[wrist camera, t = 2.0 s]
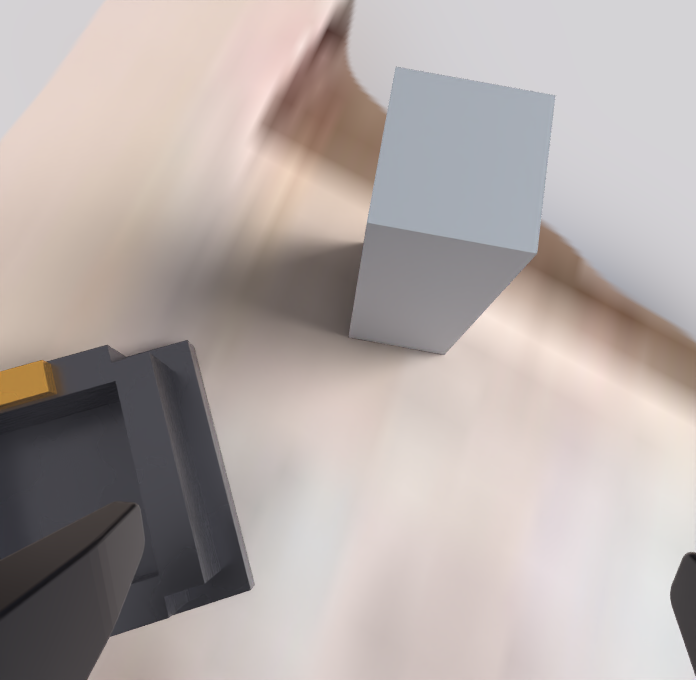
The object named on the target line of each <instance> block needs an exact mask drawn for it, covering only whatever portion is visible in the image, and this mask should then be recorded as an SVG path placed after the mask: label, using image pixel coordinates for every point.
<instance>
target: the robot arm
mask: <svg viewBox="0 0 696 680" xmlns="http://www.w3.org/2000/svg"><path fill="white" fill-rule="evenodd" d="M144 545H145V537H144V530H143V523H142V516H141V510H140V507H139V505H138V504H137V503H134V502H123V501H115V502H112V503H110V504H108V505H106V506H104V507H102V508H100V509H98V510H96V511H94V512H93V513H91V514H89V515H87V516H85V517H83V518H81V519H79V520H77V521H75V522H73V523H71V524H69V525H67V526H65V527H63V528H61V529H60V530H58V531H56V532H54V533H52V534H50V535H48V536H46V537H44V538H42V539H40V540H38V541H36V542H34V543H32V544H30V545H28V546H26V547H25V548H23V549H21V550H19V551H17V552H15V553H13V554H11V555H9V556H7V557H5V558H3V559H1V560H0V680H87V679H88V677H89V675H90V673H91V671H92V669H93V667H94V665H95V664H96V662H97V660H98V658H99V656H100V654H101V652H102V650H103V648H104V647H105V645H106V643H107V641H108V639H109V637H110V635H111V633H112V631H113V629H114V626H115V624H116V621H117V619H118V617H119V614H120V611H121V609H122V606H123V604H124V601H125V599H126V596H127V593H128V591H129V588H130V586H131V583H132V581H133V578H134V575H135V573H136V570H137V568H138V565H139V562H140V560H141V557H142V554H143V551H144ZM670 599H671V604H672V608H673V611H674V614H675V617H676V620H677V623H678V625H679V628H680V631H681V634H682V637H683V640H684V643H685V646H686V649H687V652H688V655H689V658H690V661H691V664H692V667H693V670H694V673H695V676H696V553H695V552H689V553H687V554H685V555H684V556H683V558H682V561H681V563H680V566H679V568H678V571H677V573H676V576H675V578H674V581H673V583H672V586H671V591H670Z"/></svg>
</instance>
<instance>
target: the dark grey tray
mask: <svg viewBox="0 0 696 680" xmlns="http://www.w3.org/2000/svg"><path fill="white" fill-rule="evenodd" d="M115 501H123V502H134V503H137V504H138V505H139V507H140V510H141V516H142V523H143V530H144V537H145V545H144V551H143V554H142V557H141V560H140V562H139V565H138V568H137V570H136V573H135V575H134V578H133V581H132V583H131V586H130V588H129V591H128V593H127V596H126V599H125V601H124V604H123V606H122V609H121V611H120V614H119V617H118V619H117V621H116V624H115V626H114V629H113V631H112V633H111V635H110V637H111V636H114V635H117V634H120V633H123V632H126V631H129V630H132V629H136V628H139V627H142V626H145V625H148V624H151V623H154V622H157V621H160V620H163V619H167V618H169V617H170V616H172V615H175V614H178V613H181V612H184V611H187V610H190V609H193V608H196V607H200V606H203V605H206V604H209V603H212V602H215V601H218V600H221V599H224V598H227V597H231V596H234V595H237V594H240V593H243V592H246V591H249V590H251V589H252V588H253V586H254V585H255V584H254V580H253V576H252V572H251V568H250V564H249V560H248V556H247V552H246V549H245V545H244V541H243V537H242V533H241V529H240V525H239V521H238V517H237V513H236V509H235V506H234V502H233V498H232V494H231V490H230V486H229V482H228V478H227V474H226V470H225V466H224V462H223V459H222V455H221V451H220V447H219V443H218V439H217V435H216V431H215V427H214V423H213V419H212V416H211V412H210V408H209V404H208V400H207V396H206V392H205V388H204V384H203V380H202V376H201V372H200V369H199V365H198V361H197V357H196V353H195V349H194V347H193V345H192V344H191V343H190V342H189V341H188V340H186V341H182V342H179V343H175V344H171V345H168V346H164V347H161V348H157V349H154V350H150V351H146V352H143V353H139V354H136V355H132V356H129V357H125V356H124V355H122V354H121V353H119V352H118V351H116V350H114V349H113V348H111V347H110V346H108V345H105V346H101V347H98V348H94V349H91V350H87V351H83V352H80V353H76V354H73V355H69V356H65V357H62V358H58V359H54V360H51V361H47V362H46V361H44V360H40V361H37V362H33V363H30V364H26V365H22V366H19V367H15V368H12V369H8V370H4V371H1V372H0V560H1V559H3V558H5V557H7V556H9V555H11V554H13V553H15V552H17V551H19V550H21V549H23V548H25V547H26V546H28V545H30V544H32V543H34V542H36V541H38V540H40V539H42V538H44V537H46V536H48V535H50V534H52V533H54V532H56V531H58V530H60V529H61V528H63V527H65V526H67V525H69V524H71V523H73V522H75V521H77V520H79V519H81V518H83V517H85V516H87V515H89V514H91V513H93V512H94V511H96V510H98V509H100V508H102V507H104V506H106V505H108V504H110V503H112V502H115Z"/></svg>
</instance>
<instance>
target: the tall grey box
mask: <svg viewBox="0 0 696 680" xmlns="http://www.w3.org/2000/svg"><path fill="white" fill-rule="evenodd" d="M554 102H555V95H550V94H545V93H539V92H534V91H528V90H522V89H517V88H511V87H506V86H500V85H495V84H489V83H484V82H478V81H472V80H467V79H461V78H456V77H451V76H445V75H439V74H434V73H429V72H423V71H417V70H412V69H406V68H401V67H396V68H395V74H394V79H393V84H392V90H391V95H390V101H389V106H388V112H387V117H386V122H385V128H384V133H383V139H382V144H381V149H380V155H379V160H378V166H377V171H376V176H375V182H374V187H373V193H372V198H371V203H370V209H369V214H368V220H367V225H366V232H365V238H364V244H363V250H362V256H361V263H360V269H359V275H358V281H357V287H356V293H355V300H354V306H353V312H352V318H351V324H350V330H349V337H350V338H355V339H361V340H366V341H372V342H377V343H383V344H388V345H394V346H399V347H405V348H410V349H415V350H421V351H426V352H432V353H437V354H443V355H445V354H446V352H447V351H448V350H449V349H450V348H451V347H452V346H453V345H454V344H455V343H456V342H457V340H458V339H459V338H460V337H461V336H462V335H463V334H464V333H465V332H466V331H467V329H468V328H469V327H470V326H471V325H472V324H473V323H474V322H475V321H476V320H477V319H478V317H479V316H480V315H481V314H482V313H483V312H484V311H485V310H486V309H487V308H488V307H489V305H490V304H491V303H492V302H493V301H494V300H495V299H496V298H497V297H498V296H499V295H500V293H501V292H502V291H503V290H504V289H505V288H506V287H507V286H508V285H509V284H510V282H511V281H512V280H513V279H514V278H515V277H516V276H517V275H518V274H519V273H520V272H521V270H522V269H523V268H524V267H525V266H526V265H527V264H528V263H529V262H530V261H531V260H532V258H533V257H534V256H535V255H536V254H537V249H538V240H539V232H540V223H541V215H542V206H543V198H544V188H545V180H546V171H547V163H548V154H549V146H550V137H551V128H552V120H553V111H554Z"/></svg>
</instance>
